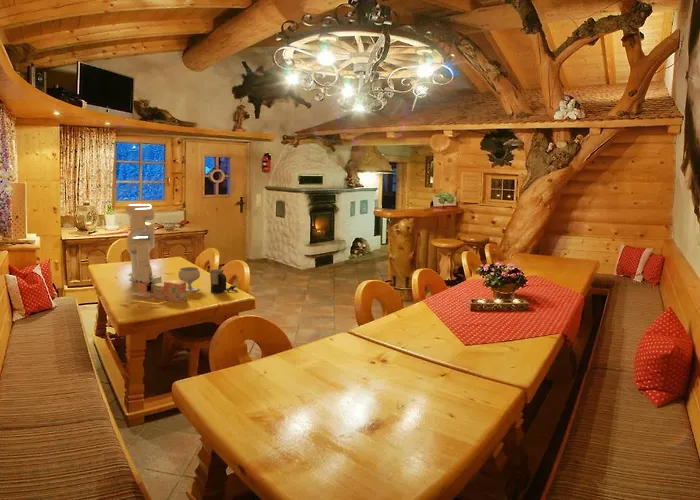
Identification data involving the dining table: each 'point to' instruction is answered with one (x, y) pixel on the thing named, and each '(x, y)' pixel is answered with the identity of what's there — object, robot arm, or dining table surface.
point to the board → (144, 294)
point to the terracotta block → (143, 287)
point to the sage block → (157, 280)
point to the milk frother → (218, 281)
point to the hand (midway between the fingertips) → (145, 290)
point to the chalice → (189, 277)
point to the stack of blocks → (170, 291)
